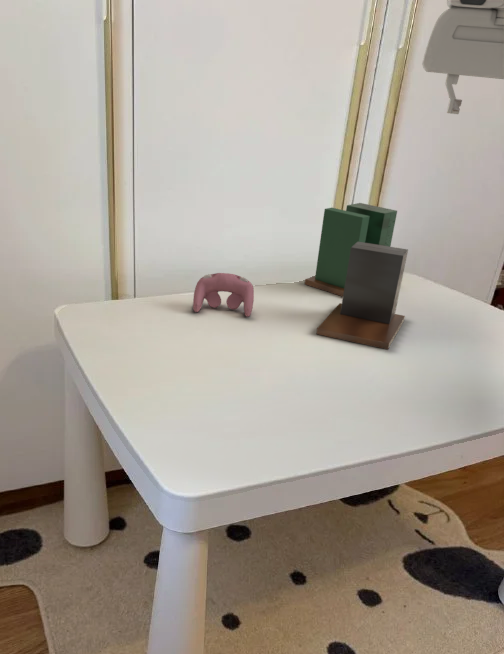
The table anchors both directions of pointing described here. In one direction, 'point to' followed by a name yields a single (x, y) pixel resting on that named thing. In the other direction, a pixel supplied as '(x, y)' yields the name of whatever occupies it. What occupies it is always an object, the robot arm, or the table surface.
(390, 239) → the green bookend
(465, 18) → the robot arm
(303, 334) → the table surface
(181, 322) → the table surface
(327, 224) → the green book
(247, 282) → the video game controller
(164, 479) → the table surface
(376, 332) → the wooden bookend
